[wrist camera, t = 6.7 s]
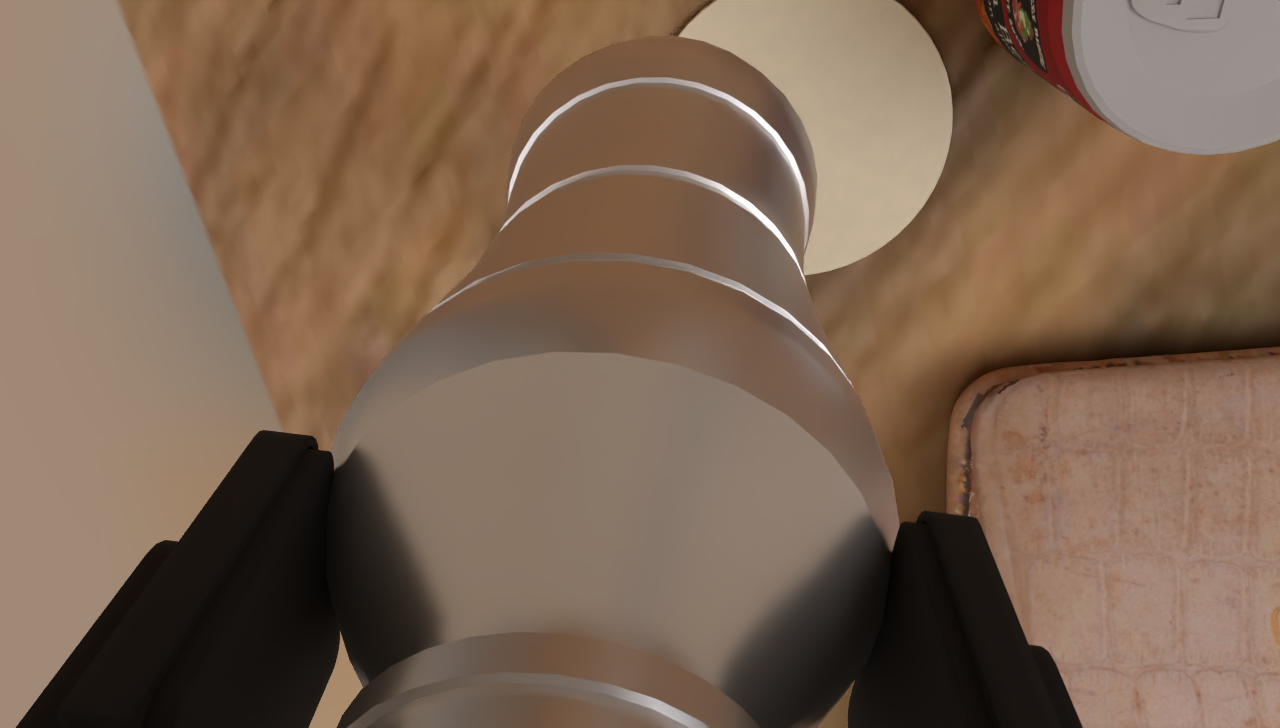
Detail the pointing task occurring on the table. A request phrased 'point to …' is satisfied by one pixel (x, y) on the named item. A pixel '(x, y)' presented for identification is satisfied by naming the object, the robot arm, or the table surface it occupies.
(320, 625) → the robot arm
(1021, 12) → the canned food
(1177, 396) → the case
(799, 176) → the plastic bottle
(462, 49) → the table surface
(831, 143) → the coaster
